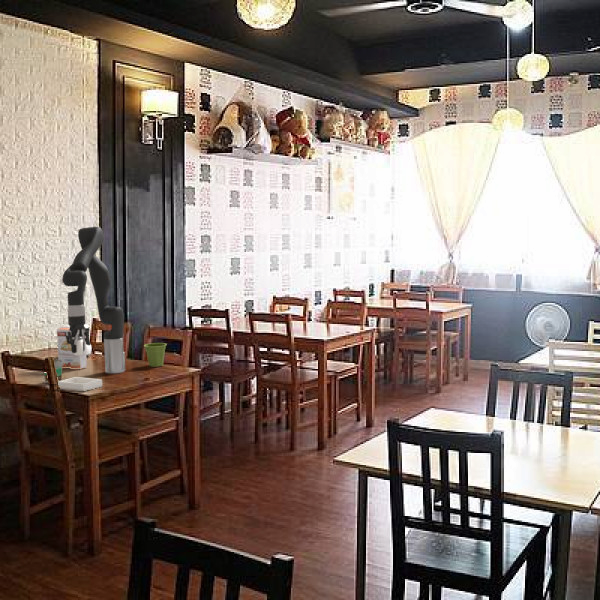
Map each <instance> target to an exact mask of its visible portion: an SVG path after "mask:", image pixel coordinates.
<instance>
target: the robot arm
mask: <svg viewBox="0 0 600 600" xmlns="http://www.w3.org/2000/svg"><path fill="white" fill-rule="evenodd" d="M77 236H78V242H79V244H80V247H81V250H80V251H78V253H76V255H75V257H74V259H73V262H72V263H71V264H70V265H69V266H68V267H67V268H66V270H64V272H63V274H62V282H63V284H64V285H65V286H66V287H77V289H75V290H74V291H69V292H68V293H67V322H68V323H67V325H69V326H70V329H69V331H67V332H66V331H65V336H66V340H67V343H68V344H71V351H72V353H77V347H76V341H77V340H78V337H83V351H84V350H85V342H86V341H88V336H89V337H90V330H91V329H90V327H89V328H85V327H84V325H85V324H86V309H85V308H86V307H85V302H84V301H85V298H84V297H85V289H86V285H87V282H88V275H87V273H86V272H87V271H88V272H89V277H90V280H91V284H92V288H93V290H94V296H95V299H96V306H97V311H98V318H99V320H100V322H101V323H102V324H104V325H108V326H111V329H110V330H109V331H106V332H104V333H103V344H104V345H103V346H104V347H103V348H104V349H103V350H104V366H105V367H104V369H105V373H106V374H121V373H124V372H125V371H126V355H125V351H124V332H125V328H124V325H125V313H124V311H123V308H122V307H121V306H110V304H109V301H108V294H109V291H110V288H111V285H112V280H111V275H110V271H109V268H108V267H107V266H106V264H105V263H104V262H103V261H102V260H101V259H100V258H99V257H98V256H97V255H96V253H97V252H98V250H100V247H101V246H103V245H102V244H103V243H104V239H105V235H104V231H103V229H102V228H101V227H99V226H90V227H82V228H80V229H79V230H78V232H77ZM85 336H86V338H85ZM73 337H75V338H73ZM73 340H74V342H73Z"/></svg>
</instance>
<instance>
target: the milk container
mask: <svg viewBox="0 0 600 600" xmlns="http://www.w3.org/2000/svg"><path fill="white" fill-rule="evenodd" d="M89 326H90V325H89V324H86V323H85V325H84V327H85V328H89V329H90V327H89ZM60 328H70V326H69V325H68V324H63V325H60ZM60 328H59V329H60ZM91 354H92V345H91V341H90V335H89V336H88V341H86V356H87V357H89V356H90V355H91ZM88 355H89V356H88Z"/></svg>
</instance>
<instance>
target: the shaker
mask: <svg viewBox="0 0 600 600" xmlns="http://www.w3.org/2000/svg"><path fill="white" fill-rule="evenodd" d="M73 338H75V337H73ZM73 342H74V340H73ZM76 347H77V353H73V355H75V356H78V355H83V337H78V340H77V341H76Z"/></svg>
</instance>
